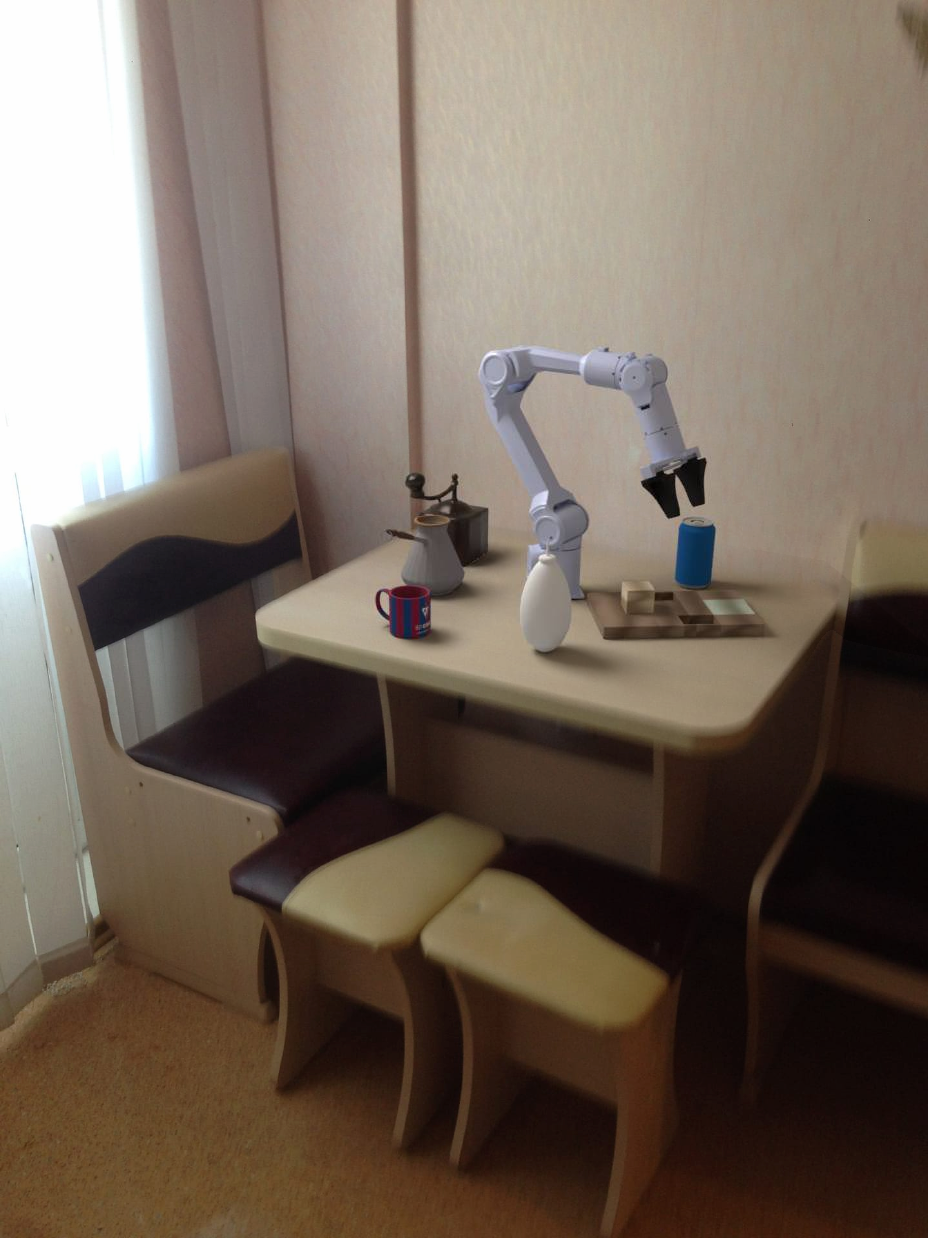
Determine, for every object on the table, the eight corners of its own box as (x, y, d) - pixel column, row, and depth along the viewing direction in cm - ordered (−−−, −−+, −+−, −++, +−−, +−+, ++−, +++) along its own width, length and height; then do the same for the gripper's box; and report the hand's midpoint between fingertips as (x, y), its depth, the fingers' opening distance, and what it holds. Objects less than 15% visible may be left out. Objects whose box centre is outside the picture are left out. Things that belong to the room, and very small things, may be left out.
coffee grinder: (440, 544, 219) (440, 457, 212) (489, 552, 214) (490, 463, 207) (401, 566, 206) (400, 473, 199) (452, 575, 201) (452, 480, 194)
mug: (412, 642, 170) (411, 602, 168) (366, 627, 176) (365, 588, 174) (439, 630, 175) (439, 590, 173) (393, 616, 181) (393, 577, 179)
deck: (603, 638, 172) (604, 627, 171) (586, 603, 187) (587, 592, 186) (763, 635, 174) (764, 624, 173) (733, 601, 188) (734, 590, 188)
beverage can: (708, 579, 199) (714, 516, 195) (712, 591, 193) (718, 526, 189) (673, 578, 200) (678, 515, 195) (676, 589, 194) (681, 525, 189)
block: (626, 613, 177) (627, 590, 176) (620, 603, 181) (622, 581, 180) (653, 613, 177) (654, 590, 176) (647, 603, 181) (648, 581, 180)
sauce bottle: (556, 663, 163) (561, 550, 156) (510, 653, 166) (513, 542, 160) (577, 646, 169) (582, 536, 163) (532, 636, 173) (535, 528, 166)
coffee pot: (421, 574, 201) (420, 496, 196) (475, 584, 196) (476, 504, 191) (358, 610, 184) (355, 525, 178) (416, 622, 179) (415, 535, 173)
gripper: (656, 432, 164) (683, 517, 165) (705, 414, 174) (730, 494, 175) (620, 444, 169) (646, 526, 170) (669, 426, 179) (694, 504, 180)
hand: (686, 511), depth 173 cm, fingers open, 7 cm apart
